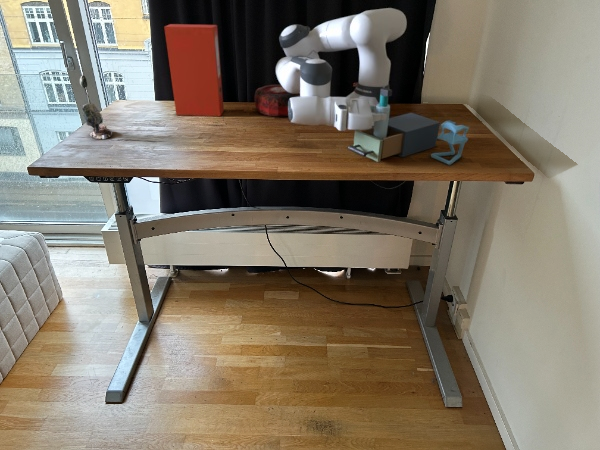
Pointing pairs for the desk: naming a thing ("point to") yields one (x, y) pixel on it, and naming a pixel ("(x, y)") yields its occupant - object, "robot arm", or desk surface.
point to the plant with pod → (94, 117)
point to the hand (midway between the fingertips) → (385, 113)
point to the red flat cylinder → (273, 100)
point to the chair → (451, 141)
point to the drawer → (377, 144)
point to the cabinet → (415, 132)
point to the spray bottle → (383, 107)
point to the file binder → (195, 69)
